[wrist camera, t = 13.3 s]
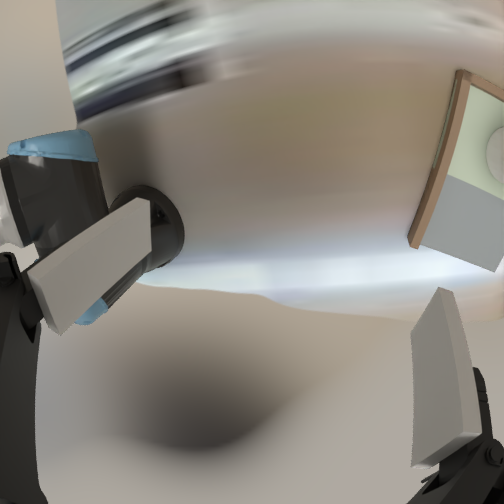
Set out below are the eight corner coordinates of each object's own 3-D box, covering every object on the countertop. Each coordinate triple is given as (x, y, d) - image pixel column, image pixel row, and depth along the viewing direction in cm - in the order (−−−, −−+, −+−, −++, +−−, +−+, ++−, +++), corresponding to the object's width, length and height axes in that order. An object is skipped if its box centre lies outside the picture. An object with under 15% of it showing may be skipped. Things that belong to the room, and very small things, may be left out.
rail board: (407, 236, 38) (409, 246, 36) (456, 70, 25) (463, 69, 23) (492, 268, 35) (498, 279, 33) (546, 123, 22) (557, 126, 19)
